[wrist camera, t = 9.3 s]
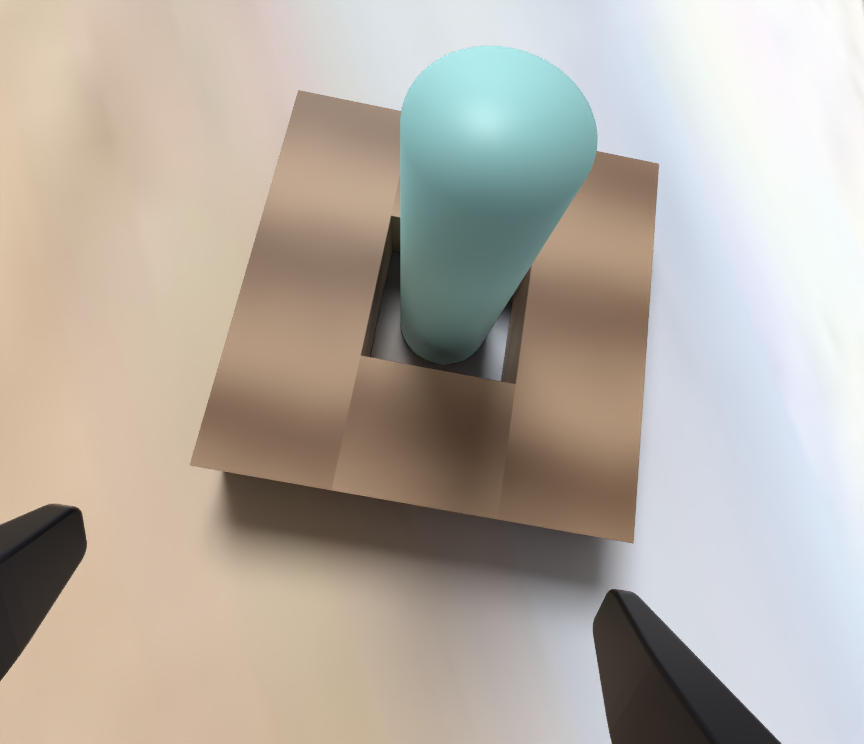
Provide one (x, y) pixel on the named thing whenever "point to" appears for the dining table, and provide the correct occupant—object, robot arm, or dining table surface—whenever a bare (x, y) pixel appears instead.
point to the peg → (482, 188)
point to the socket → (423, 387)
